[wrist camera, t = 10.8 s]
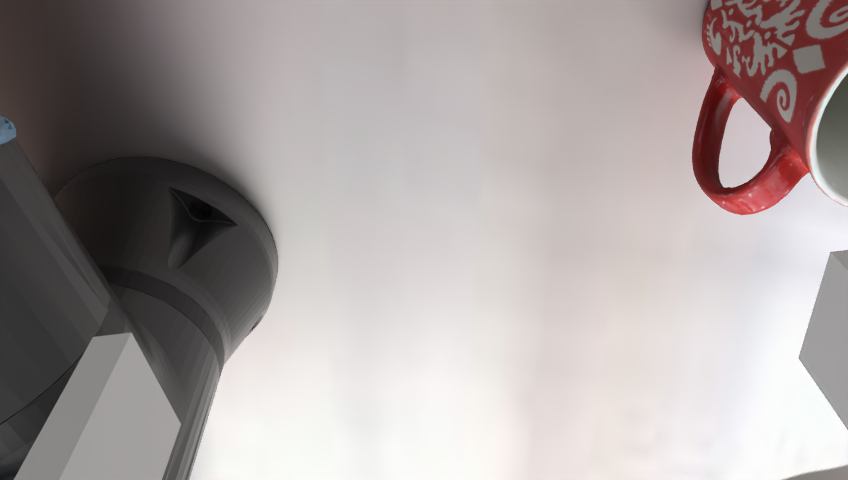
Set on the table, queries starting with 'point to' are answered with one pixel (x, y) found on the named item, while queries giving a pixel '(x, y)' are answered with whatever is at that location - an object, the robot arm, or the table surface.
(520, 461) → the table surface
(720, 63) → the mug
